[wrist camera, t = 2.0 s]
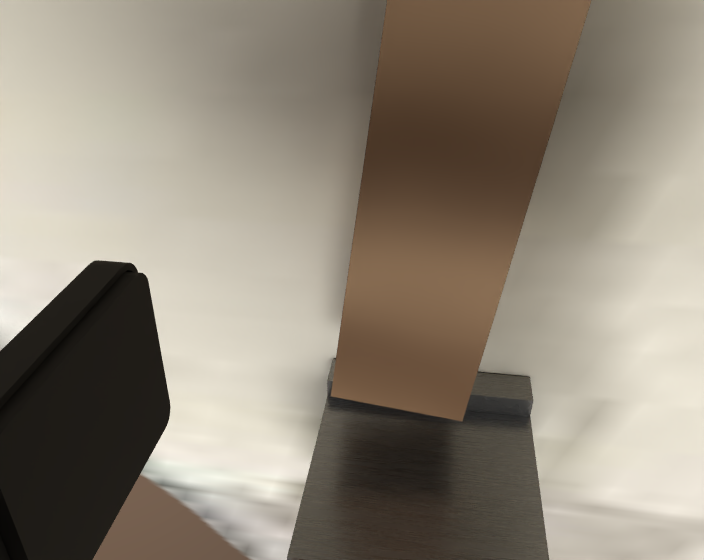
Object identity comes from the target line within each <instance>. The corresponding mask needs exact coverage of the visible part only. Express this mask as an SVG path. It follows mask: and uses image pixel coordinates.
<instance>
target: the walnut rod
mask: <svg viewBox="0 0 704 560" xmlns="http://www.w3.org/2000/svg"><path fill="white" fill-rule="evenodd" d="M590 3H591V0H387V5H386V12H385V19H384V26H383V33H382V40H381V47H380V54H379V61H378V68H377V75H376V82H375V89H374V96H373V103H372V110H371V117H370V124H369V131H368V138H367V145H366V152H365V159H364V166H363V173H362V180H361V187H360V194H359V201H358V208H357V215H356V222H355V229H354V236H353V243H352V250H351V257H350V264H349V271H348V278H347V285H346V292H345V299H344V306H343V313H342V320H341V327H340V334H339V341H338V348H337V355H336V362H335V369H334V376H333V383H332V390H331V396H332V397H337V398H343V399H348V400H353V401H358V402H363V403H369V404H374V405H379V406H384V407H390V408H395V409H400V410H405V411H411V412H416V413H421V414H426V415H432V416H437V417H442V418H447V419H452V420H458V421H463V417H464V414H465V411H466V408H467V404H468V401H469V398H470V395H471V391H472V388H473V385H474V381H475V378H476V375H477V372H478V368H479V365H480V362H481V359H482V355H483V352H484V349H485V346H486V342H487V339H488V336H489V333H490V329H491V326H492V323H493V320H494V316H495V313H496V310H497V306H498V303H499V300H500V297H501V293H502V290H503V287H504V284H505V280H506V277H507V274H508V271H509V267H510V264H511V261H512V258H513V254H514V251H515V248H516V245H517V241H518V238H519V235H520V231H521V228H522V225H523V222H524V218H525V215H526V212H527V209H528V205H529V202H530V199H531V196H532V192H533V189H534V186H535V183H536V179H537V176H538V173H539V170H540V166H541V163H542V160H543V156H544V153H545V150H546V147H547V143H548V140H549V137H550V134H551V130H552V127H553V124H554V121H555V117H556V114H557V111H558V108H559V104H560V101H561V98H562V95H563V91H564V88H565V85H566V81H567V78H568V75H569V72H570V68H571V65H572V62H573V59H574V55H575V52H576V49H577V46H578V42H579V39H580V36H581V33H582V29H583V26H584V23H585V19H586V16H587V13H588V10H589V6H590Z"/></svg>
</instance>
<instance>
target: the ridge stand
mask: <svg viewBox="0 0 704 560" xmlns="http://www.w3.org/2000/svg"><path fill="white" fill-rule="evenodd" d="M335 362H336V359H333V361H332V365H331V369H330V373H329V377H328V381H327V382H328V397H327V401H326V405H325V409H324V413H323V417H322V421H321V425H320V429H319V433H318V437H317V441H316V445H315V448H314V452H313V456H312V460H311V464H310V468H309V472H308V476H307V480H306V484H305V488H304V492H303V496H302V500H301V504H300V508H299V512H298V516H297V520H296V524H295V528H294V532H293V536H292V540H291V544H290V548H289V552H288V556H287V560H549V555H548V548H547V540H546V533H545V525H544V518H543V510H542V503H541V495H540V487H539V480H538V472H537V465H536V457H535V450H534V442H533V435H532V427H531V420H530V414H531V409H532V404H533V396H532V389H531V382H530V377H522V376H512V375H501V374H490V373H479V372H477V375H476V378H475V381H474V385H473V388H472V391H471V395H470V398H469V401H468V404H467V408H466V411H465V414H464V417H463V421H458V420H452V419H447V418H442V417H437V416H432V415H426V414H421V413H416V412H411V411H405V410H400V409H395V408H390V407H384V406H379V405H374V404H369V403H363V402H358V401H353V400H348V399H343V398H337V397H332V396H331V390H332V383H333V376H334V369H335Z"/></svg>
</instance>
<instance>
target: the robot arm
mask: <svg viewBox="0 0 704 560" xmlns="http://www.w3.org/2000/svg"><path fill="white" fill-rule="evenodd" d="M169 416H170V400H169V395H168V389H167V384H166V378H165V372H164V367H163V361H162V356H161V350H160V344H159V339H158V333H157V328H156V322H155V316H154V311H153V305H152V300H151V294H150V288H149V283H148V279H147V277H146V275H145V274H143V273H138V271H137V269H136V267H135V266H134V265H133V264H132V263H123V262H111V261H93V262H92V263H90V264H89V265H88V266H87V267H86V268H85V269H84V270H83V271H82V272H81V273H80V274H79V275H78V276H77V277H76V278H75V279H74V280H73V281H72V282H71V283H70V284H69V285H68V286H67V287H66V288H65V289H64V290H63V291H62V292H60V293H59V294H58V295H57V296H56V297H55V298H54V299H53V300H52V301H51V302H50V303H49V304H48V305H47V306H46V307H45V308H44V309H43V310H42V311H41V312H40V313H39V314H38V315H37V316H36V317H35V318H34V319H33V320H32V321H31V322H30V323H29V324H28V325H27V326H26V327H25V328H24V329H23V330H22V331H21V332H19V333H18V334H17V335H16V336H15V337H14V338H13V339H12V340H11V341H10V342H9V343H8V344H7V345H6V346H5V347H4V348H3V349H2V350H1V351H0V560H92V559H93V558H94V556H95V554H96V552H97V550H98V549H99V547H100V545H101V543H102V542H103V540H104V538H105V536H106V534H107V533H108V531H109V529H110V527H111V525H112V523H113V522H114V520H115V518H116V516H117V515H118V513H119V511H120V509H121V507H122V506H123V504H124V502H125V500H126V498H127V496H128V495H129V493H130V491H131V489H132V488H133V486H134V484H135V482H136V480H137V479H138V477H139V475H140V473H141V471H142V470H143V468H144V466H145V464H146V462H147V461H148V459H149V457H150V455H151V453H152V452H153V450H154V448H155V446H156V444H157V443H158V441H159V439H160V437H161V435H162V434H163V432H164V430H165V428H166V426H167V424H168V420H169Z"/></svg>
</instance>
